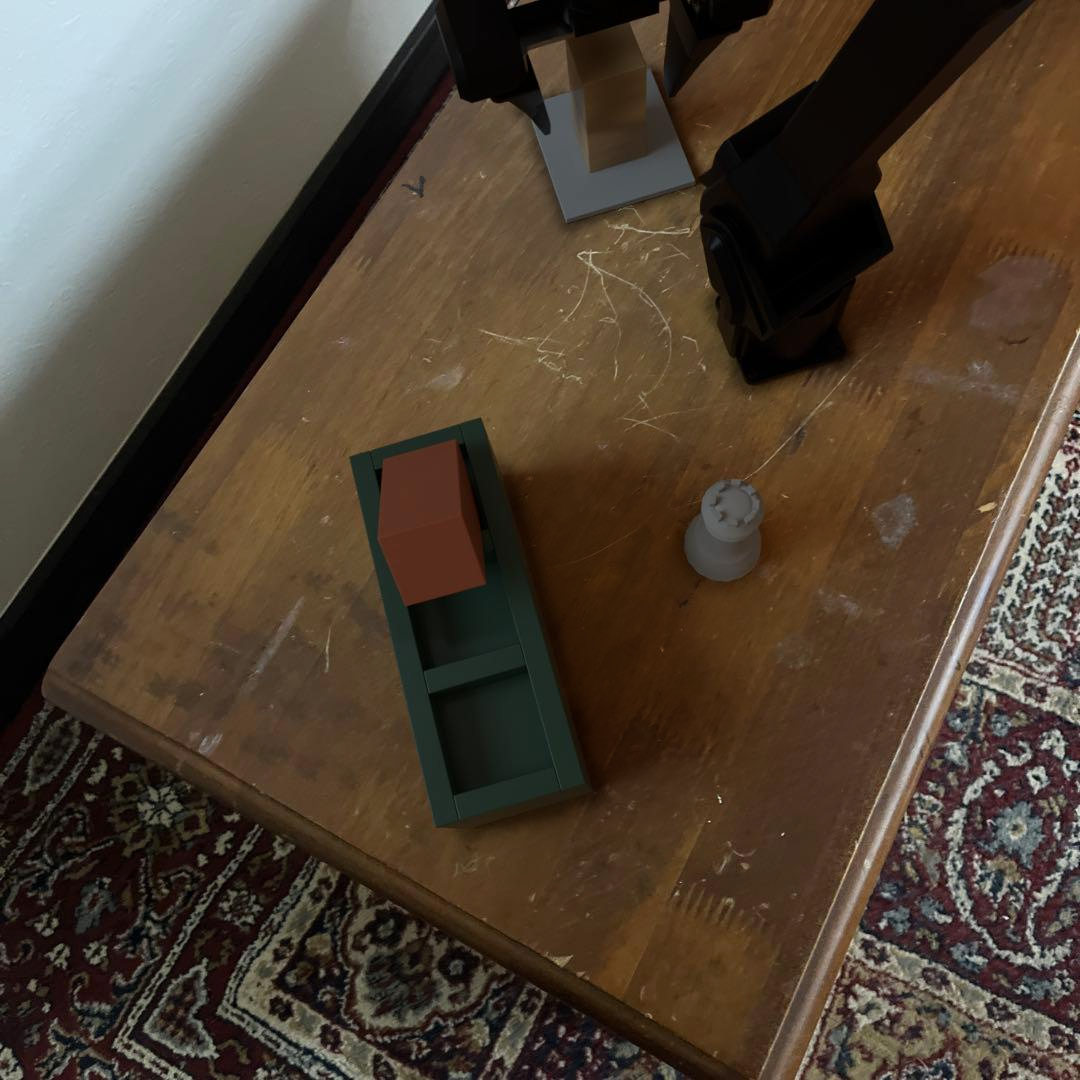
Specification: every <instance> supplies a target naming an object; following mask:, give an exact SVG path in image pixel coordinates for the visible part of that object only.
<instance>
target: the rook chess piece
mask: <svg viewBox="0 0 1080 1080" xmlns="http://www.w3.org/2000/svg"><path fill="white" fill-rule="evenodd" d="M765 505H766V504H765V502H764V500H763V497H762V494H761V493H760V492H759V490H757V488H756V487H755V486H754V485H753V484H751V483H749V482H747V481H745V480H743V479H738V478H726V479H723V480H719V481H716V482H715V483H714V484H713V485H711V486H710V487H709V488H707V489H706V492H705V493H704V495H703V497H702V498H701V507H700V512H699V513H697V515H696V516H694V517H693V519H692V521H690V524H689V526H688V527H687V529H686V532H685V534H684V542H683V550H684V553H685V556H686V559H687V562H688V563H689V564H690V566H691V567H692V568H693V569H694V570H695V572H696V573H697V574H699V575H701V576H703V577H704V578H706V579H708V580H711V581H715V582H716V581H717V582H725V583H727V582H730V581H734V580H735V581H736V580H738V579H740V578H741V579H742V578H743V577H744V576H745V575H747V574H748V573H749V572H751V571H752V570H753V569H754V568H755V565H757V564H756V563H757V562H758V560H759V558H760V556H761V550H762V549H761V547H762V535H761V532H760V529H759V527H760V525H761V523H762V521H763V520H764V517H765V509H766V508H765V507H766V506H765Z"/></svg>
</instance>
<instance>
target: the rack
mask: <svg viewBox="0 0 1080 1080" xmlns="http://www.w3.org/2000/svg"><path fill="white" fill-rule="evenodd" d="M454 439H456V440H457V442H458V445H459V448H460V451H461V454H462V457H463V460H464V463H465V466H466V469H467V472H468V475H469V478H470V481H471V483H472V486H473V489H474V492H475V495H476V498H477V501H478V509H479V518H480V528H481V537H482V546H483V555H484V565H485V574H486V585H482V586H479V587H475V588H471V589H468V590H464V591H460V592H457V593H453V594H449V595H446V596H442V597H439V598H435V599H431V600H428V601H424V602H420V603H417V604H413V605H409V606H405V604H404V601H403V599H402V596H401V594H400V592H399V589H398V587H397V584H396V582H395V580H394V577H393V575H392V572H391V570H390V567H389V565H388V563H387V560H386V558H385V555H384V553H383V550H382V548H381V546H380V543H379V541H378V527H379V513H380V498H381V484H382V470H383V460H384V459H386V458H390V457H393V456H397V455H401V454H404V453H408V452H411V451H415V450H418V449H422V448H425V447H429V446H432V445H436V444H440V443H443V442H447V441H450V440H454ZM493 448H494V447H493V446H492V443H491V441H490V438H489V435H488V433H487V430H486V426H485V424H484V421H483V419H482V417H477V418H473V419H470V420H466V421H463V422H460V423H457V424H454V425H450V426H447V427H443V428H441V429H437V430H433V431H431V432H427V433H423V434H420V435H417V436H414V437H410V438H406V439H404V440H400V441H397V442H394V443H390V444H387V445H383V446H379V447H377V448H373V449H371V450H366V451H364V452H359V453H357V454H353V455H349V457H348V458H349V459H348V460H349V464H350V468H351V472H352V476H353V481H354V485H355V490H356V495H357V498H358V502H359V507H360V511H361V515H362V520H363V523H364V527H365V532H366V536H367V541H368V545H369V550H370V554H371V558H372V562H373V567H374V572H375V575H376V579H377V585H378V589H379V593H380V597H381V600H382V601H381V602H382V606H383V611H384V615H385V619H386V623H387V628H388V632H389V635H390V640H391V644H392V649H393V653H394V658H395V662H396V666H397V669H398V674H399V675H398V676H399V679H400V683H401V687H402V692H403V695H404V696H403V698H404V700H405V705H406V710H407V714H408V718H409V722H410V727H411V732H412V735H413V739H414V744H415V749H416V752H417V756H418V761H419V766H420V771H421V775H422V778H423V782H424V787H425V791H426V795H427V800H428V805H429V808H430V809H429V810H430V813H431V817H432V822H433V827H434V828H435V829H436V828H437V829H455V830H469V829H474V828H477V827H480V826H483V825H486V824H490V823H493V822H494V823H495V822H497V821H500V820H504V819H507V818H511V817H514V816H517V815H521V814H525V813H528V812H531V811H534V810H537V809H542V808H544V807H548V806H552V805H554V804H557V803H561V802H564V801H568V800H572V799H576V798H579V797H582V796H585V795H589V794H592V793H593V792H594V790H593V786H592V785H593V784H592V783H591V779H590V775H589V773H588V767H587V765H586V761H585V758H584V754H583V751H582V747H581V744H580V741H579V737H578V734H577V729H576V726H575V723H574V719H573V716H572V713H571V709H570V706H569V702H568V698H567V695H566V692H565V688H564V686H563V681H562V678H561V675H560V670H559V667H558V663H557V660H556V657H555V653H554V650H553V646H552V643H551V639H550V636H549V632H548V629H547V625H546V622H545V618H544V615H543V611H542V607H541V604H540V601H539V598H538V594H537V591H536V587H535V583H534V580H533V577H532V573H531V570H530V566H529V563H528V559H527V556H526V552H525V549H524V546H523V542H522V538H521V534H520V531H519V527H518V525H517V521H516V518H515V514H514V509H513V507H512V504H511V500H510V496H509V493H508V489H507V486H506V482H505V479H504V475H503V473H502V469H501V467H500V464H499V462H498V460H497V456H496V455H495V451H494V449H493Z"/></svg>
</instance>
